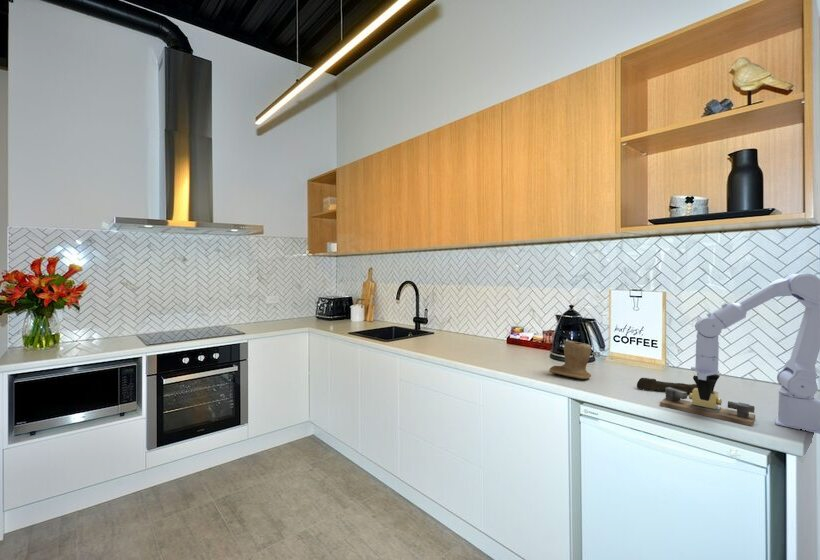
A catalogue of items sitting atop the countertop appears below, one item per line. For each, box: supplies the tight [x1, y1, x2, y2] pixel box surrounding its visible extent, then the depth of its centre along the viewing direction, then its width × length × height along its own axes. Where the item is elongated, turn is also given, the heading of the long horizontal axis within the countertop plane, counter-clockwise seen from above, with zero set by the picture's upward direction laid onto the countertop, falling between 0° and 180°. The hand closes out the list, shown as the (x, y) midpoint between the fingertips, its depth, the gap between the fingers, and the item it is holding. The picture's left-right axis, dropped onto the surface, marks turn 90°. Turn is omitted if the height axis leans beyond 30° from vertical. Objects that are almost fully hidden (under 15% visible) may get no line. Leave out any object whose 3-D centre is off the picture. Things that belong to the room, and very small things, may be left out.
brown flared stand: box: [548, 340, 592, 380], centre depth 163 cm, size 15×12×15 cm
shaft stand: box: [659, 387, 756, 427], centre depth 123 cm, size 23×8×5 cm, turn 44°
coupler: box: [688, 388, 723, 409], centre depth 123 cm, size 8×4×4 cm, turn 44°
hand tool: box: [636, 377, 697, 395], centre depth 144 cm, size 19×4×5 cm, turn 66°
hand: (705, 398), depth 123 cm, fingers closed on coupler, 4 cm apart
